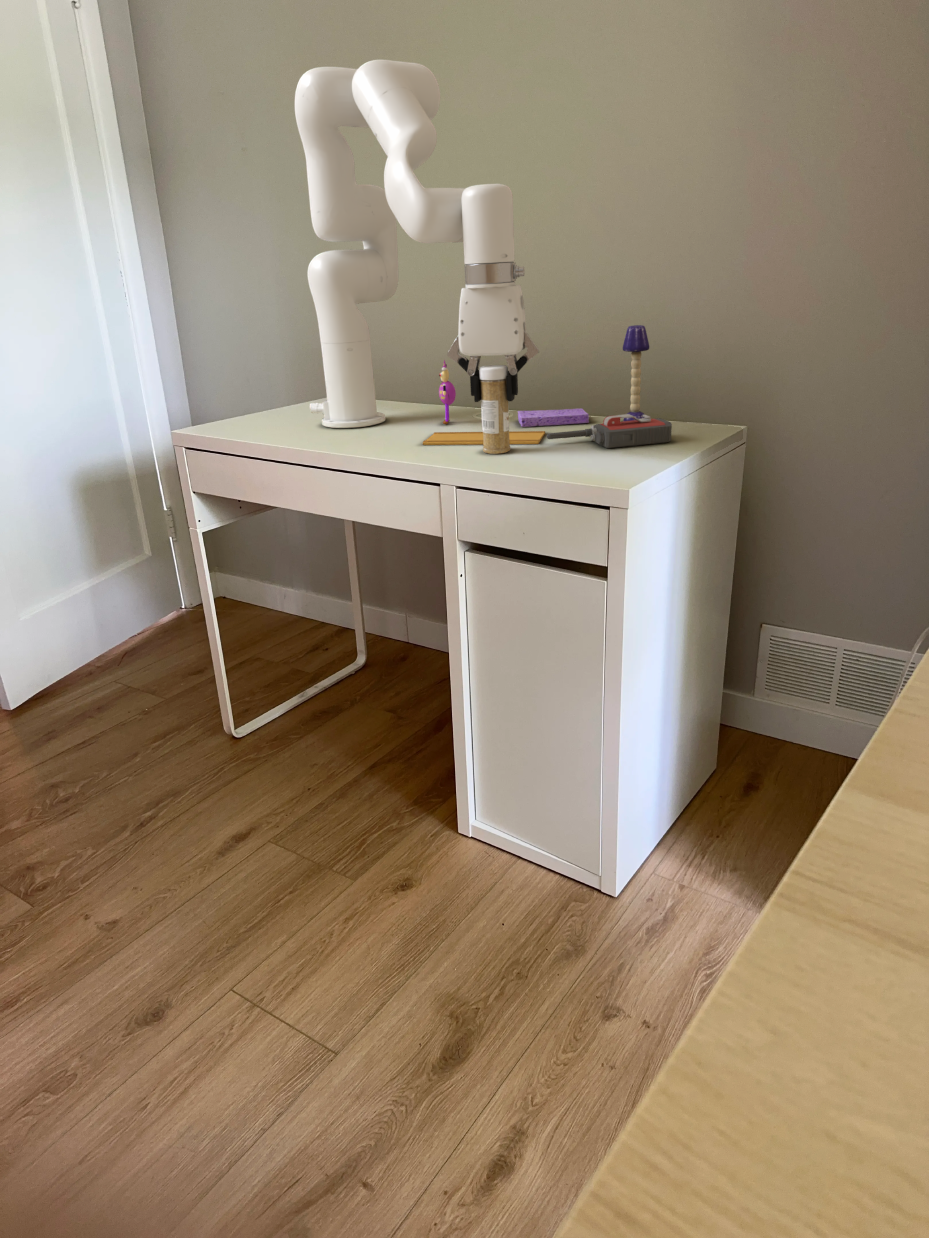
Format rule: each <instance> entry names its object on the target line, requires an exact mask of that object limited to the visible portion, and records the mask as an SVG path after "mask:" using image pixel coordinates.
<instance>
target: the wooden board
mask: <svg viewBox="0 0 929 1238" xmlns="http://www.w3.org/2000/svg"><path fill="white" fill-rule="evenodd" d="M545 435H546V431H545V430H534V431H533V430H529V431H528V430H527V431H526V430H525V431H523V430H522V431H519V430H518V431H517V430H516V431H510V430H509V443H510V445H539V444H540V442H541V441H542V439H543V438H544V436H545ZM422 445H423V446H455V445H457V446H461V445H463V446H466V445H467V446H468V445H469V446H471V445H473V446H474V445H483V431H434V432H433V434H431V435H430V436H428V438H426V439H425V440H423V441H422Z"/></svg>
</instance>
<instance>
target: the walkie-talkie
mask: <svg viewBox="0 0 929 1238" xmlns="http://www.w3.org/2000/svg"><path fill="white" fill-rule="evenodd" d="M643 417H644V418H642V419H637V418H636V417H634V416H632V415H630V414H627V413H625V414H617V415H607V416H606V417H604V418H603V420H602V423H596V424H594V425H593V424H592V425H590V428H585V429H579V430H569V431H559V432H549V433H547V434H546V438H547V440H558V439H569V438H570V439H571V438H580V437H585V438H590V441H593V442H595V443H596V444H598V445H599V446H602V447H604V448H605V449H615V448H625V447H628V448H629V447H636V446H647V445H648V446H649V445H655V444H656V445H657V444H666V443H669V442H671V441H672V431H673V428H672V427H673V424H672V422H671V421H668V420H667V419H664V418H661V417H657V418H652V416H650V415H647V414H645V415H643ZM624 418H633V419H635V420H633V421H621V419H624ZM636 420H637V421H636Z"/></svg>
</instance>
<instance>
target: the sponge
mask: <svg viewBox="0 0 929 1238" xmlns="http://www.w3.org/2000/svg"><path fill="white" fill-rule="evenodd" d="M589 419H590V414H589V413H588V412H587V411H585V410H584V409H583V408H565V409H546V410H542V409H541V410H539V409H538V410H517V420H518V424H519V425H520V427H522V428H525V427H528V428H529V427H543V426H544V427H545V426H561V425H576V424H588V423H590V421H589Z"/></svg>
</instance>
